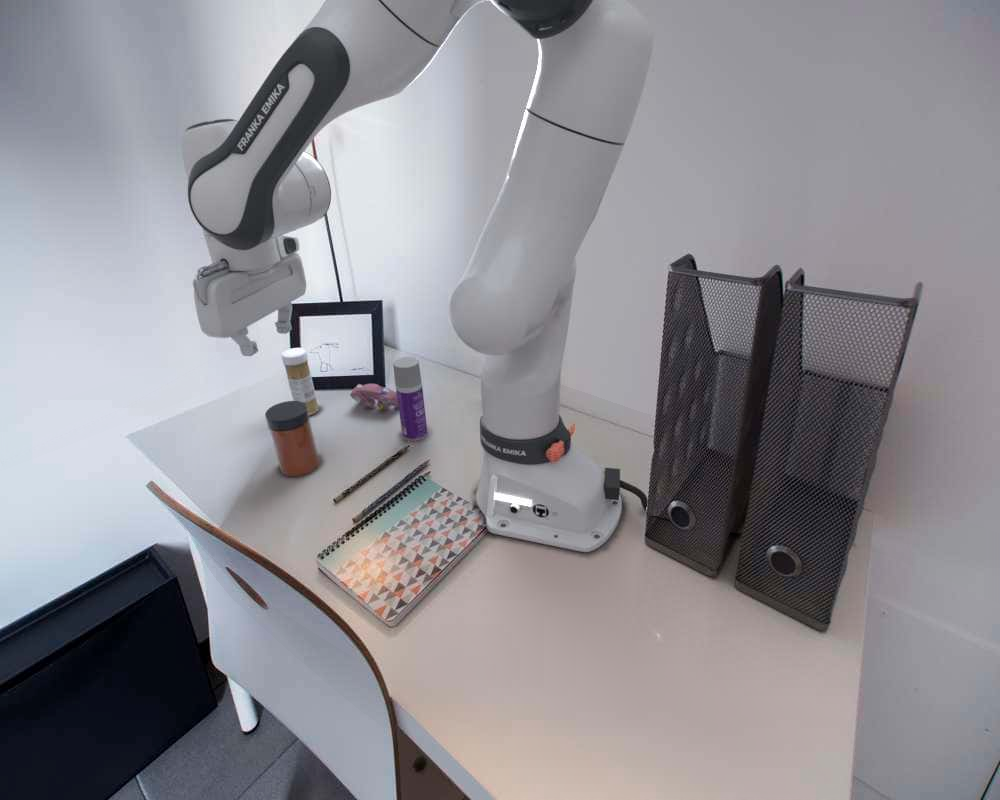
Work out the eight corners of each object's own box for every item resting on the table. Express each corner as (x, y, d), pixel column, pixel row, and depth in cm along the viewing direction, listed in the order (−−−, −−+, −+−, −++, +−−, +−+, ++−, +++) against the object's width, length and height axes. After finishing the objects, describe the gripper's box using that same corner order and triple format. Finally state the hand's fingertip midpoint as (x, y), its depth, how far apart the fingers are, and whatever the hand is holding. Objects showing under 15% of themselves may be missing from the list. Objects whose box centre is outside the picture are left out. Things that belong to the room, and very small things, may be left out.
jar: (327, 460, 93) (315, 408, 88) (299, 480, 88) (285, 426, 83) (301, 451, 96) (288, 400, 91) (273, 470, 91) (257, 417, 86)
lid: (317, 415, 88) (315, 405, 88) (287, 434, 84) (284, 424, 83) (290, 407, 91) (287, 397, 90) (259, 424, 86) (256, 415, 85)
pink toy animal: (356, 412, 110) (343, 392, 105) (365, 394, 113) (352, 374, 107) (399, 418, 108) (388, 398, 102) (407, 400, 110) (396, 380, 105)
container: (422, 442, 97) (414, 368, 90) (398, 439, 98) (388, 367, 91) (430, 428, 101) (422, 357, 94) (407, 426, 102) (397, 355, 95)
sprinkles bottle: (314, 403, 111) (300, 344, 104) (322, 412, 108) (309, 351, 101) (292, 411, 108) (277, 351, 102) (300, 420, 105) (285, 358, 99)
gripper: (211, 272, 64) (242, 374, 71) (304, 236, 82) (321, 320, 88) (168, 270, 66) (202, 370, 73) (268, 235, 83) (288, 318, 90)
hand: (268, 342), depth 81 cm, fingers open, 7 cm apart
